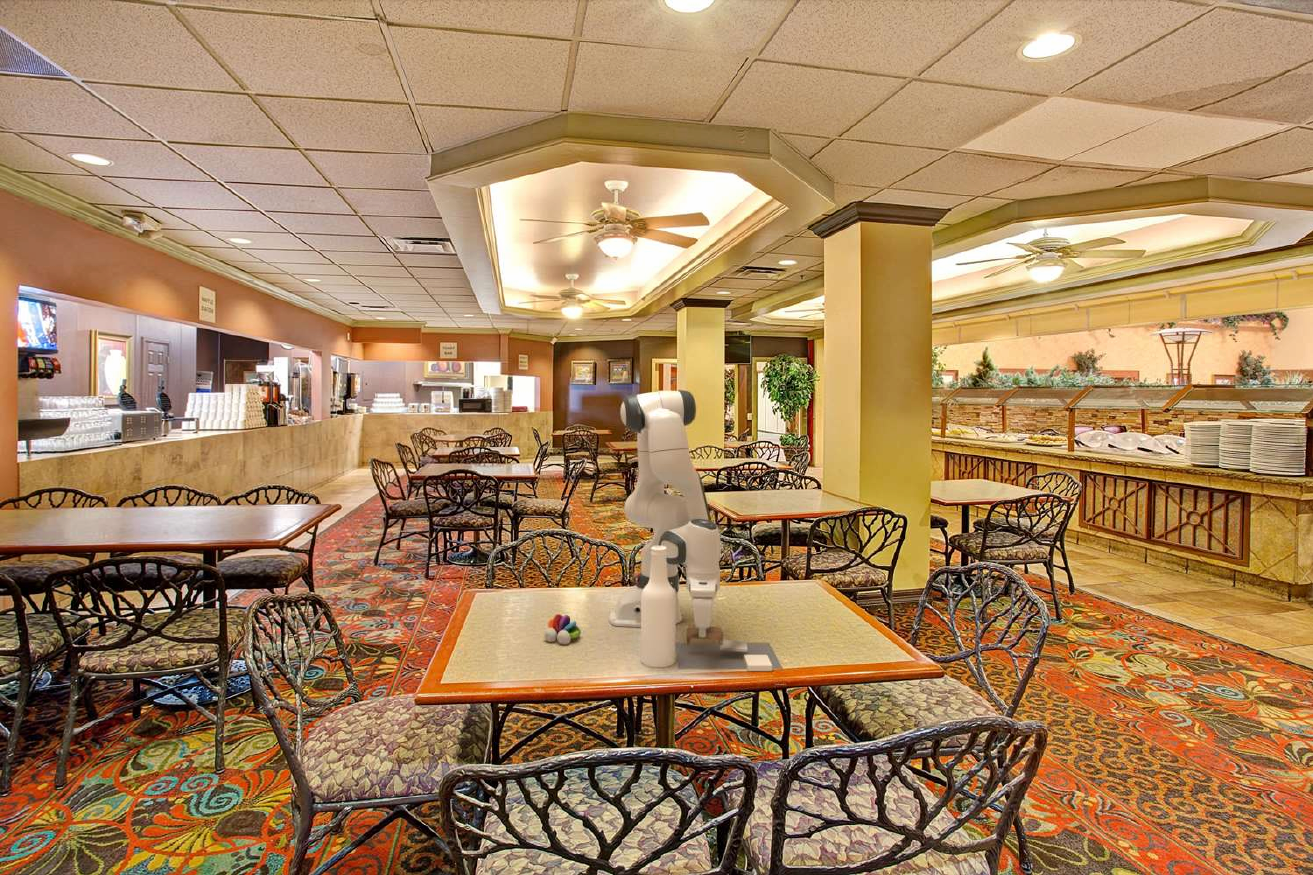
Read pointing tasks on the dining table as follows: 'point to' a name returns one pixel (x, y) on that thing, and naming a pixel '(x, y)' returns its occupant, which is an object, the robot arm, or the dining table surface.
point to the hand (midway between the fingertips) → (702, 633)
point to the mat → (720, 656)
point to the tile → (757, 663)
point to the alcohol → (658, 614)
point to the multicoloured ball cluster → (562, 630)
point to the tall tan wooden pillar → (716, 638)
